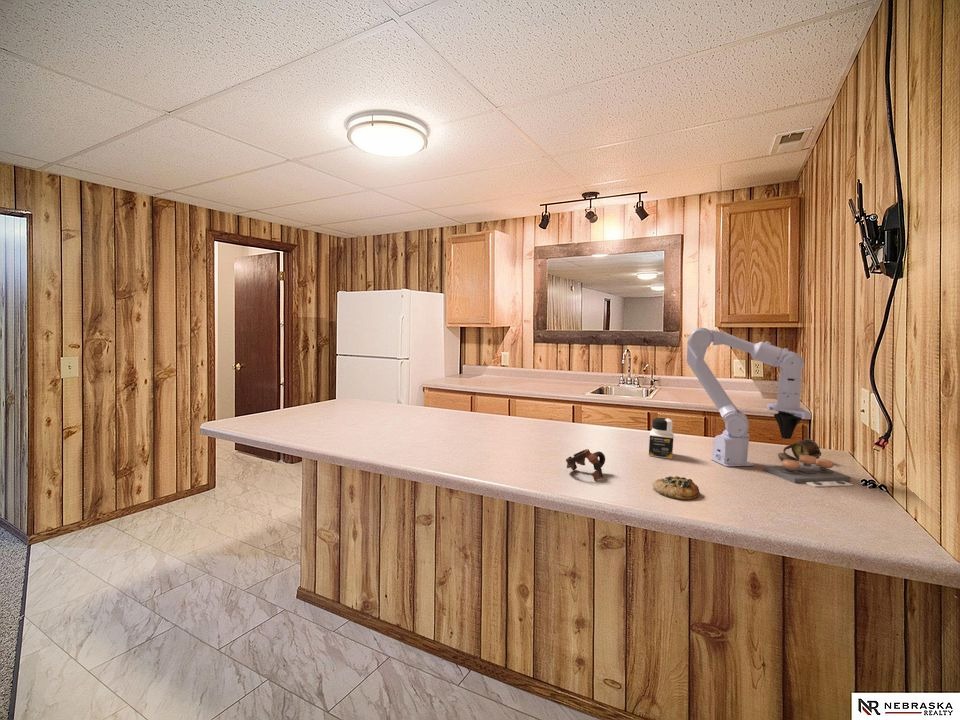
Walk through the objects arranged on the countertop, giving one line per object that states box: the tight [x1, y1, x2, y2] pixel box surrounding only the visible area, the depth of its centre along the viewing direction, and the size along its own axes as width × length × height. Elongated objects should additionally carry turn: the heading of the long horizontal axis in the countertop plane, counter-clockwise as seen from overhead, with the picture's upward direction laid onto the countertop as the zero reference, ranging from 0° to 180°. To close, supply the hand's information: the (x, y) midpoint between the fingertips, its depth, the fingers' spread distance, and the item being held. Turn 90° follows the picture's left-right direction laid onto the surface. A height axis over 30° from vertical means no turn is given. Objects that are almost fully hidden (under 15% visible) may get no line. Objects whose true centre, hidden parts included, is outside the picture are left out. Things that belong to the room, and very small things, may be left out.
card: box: [805, 481, 854, 488], centre depth 131 cm, size 12×3×1 cm, turn 99°
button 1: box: [781, 459, 800, 471], centre depth 137 cm, size 4×4×3 cm
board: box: [764, 464, 852, 484], centre depth 138 cm, size 18×11×2 cm, turn 99°
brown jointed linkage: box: [565, 448, 606, 481], centre depth 134 cm, size 12×10×8 cm
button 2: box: [814, 458, 833, 470], centre depth 139 cm, size 4×4×3 cm
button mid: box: [798, 455, 816, 467], centre depth 138 cm, size 4×4×3 cm
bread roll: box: [652, 475, 700, 501], centre depth 122 cm, size 11×11×5 cm
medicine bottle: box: [648, 417, 675, 460], centre depth 155 cm, size 7×7×12 cm
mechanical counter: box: [777, 438, 822, 462], centre depth 153 cm, size 7×13×10 cm
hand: (786, 438), depth 142 cm, fingers closed
